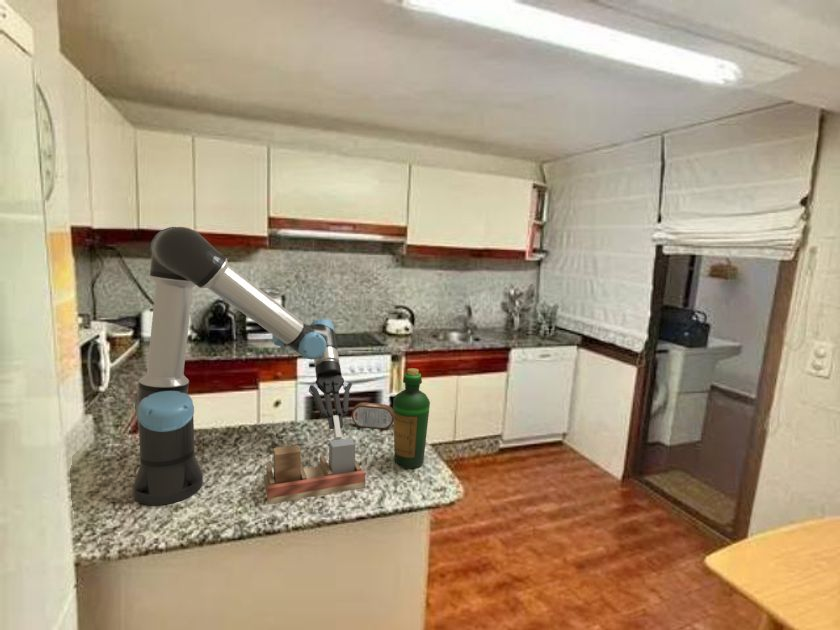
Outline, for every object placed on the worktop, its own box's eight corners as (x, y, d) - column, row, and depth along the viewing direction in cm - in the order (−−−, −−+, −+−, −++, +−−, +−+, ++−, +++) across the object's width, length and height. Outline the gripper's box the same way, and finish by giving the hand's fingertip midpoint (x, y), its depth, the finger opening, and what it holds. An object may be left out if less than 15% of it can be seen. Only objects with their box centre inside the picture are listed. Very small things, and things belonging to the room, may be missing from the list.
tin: (394, 427, 157) (395, 404, 156) (393, 431, 154) (394, 407, 153) (352, 423, 159) (353, 400, 157) (350, 427, 156) (350, 403, 154)
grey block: (331, 480, 117) (332, 447, 115) (328, 471, 121) (328, 439, 119) (354, 476, 119) (355, 444, 118) (349, 468, 123) (350, 437, 122)
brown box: (275, 489, 111) (275, 455, 110) (273, 480, 115) (273, 447, 114) (300, 485, 113) (300, 451, 112) (297, 476, 117) (297, 443, 116)
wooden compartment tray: (268, 504, 108) (268, 486, 107) (263, 480, 118) (263, 463, 118) (364, 487, 117) (365, 471, 117) (352, 466, 128) (353, 451, 127)
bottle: (386, 456, 135) (389, 365, 131) (419, 452, 139) (423, 364, 135) (396, 473, 125) (401, 376, 121) (432, 468, 129) (437, 373, 125)
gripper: (345, 370, 144) (357, 441, 131) (304, 372, 139) (312, 446, 126) (350, 358, 138) (363, 431, 126) (307, 360, 133) (316, 436, 121)
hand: (338, 438), depth 126 cm, fingers closed
